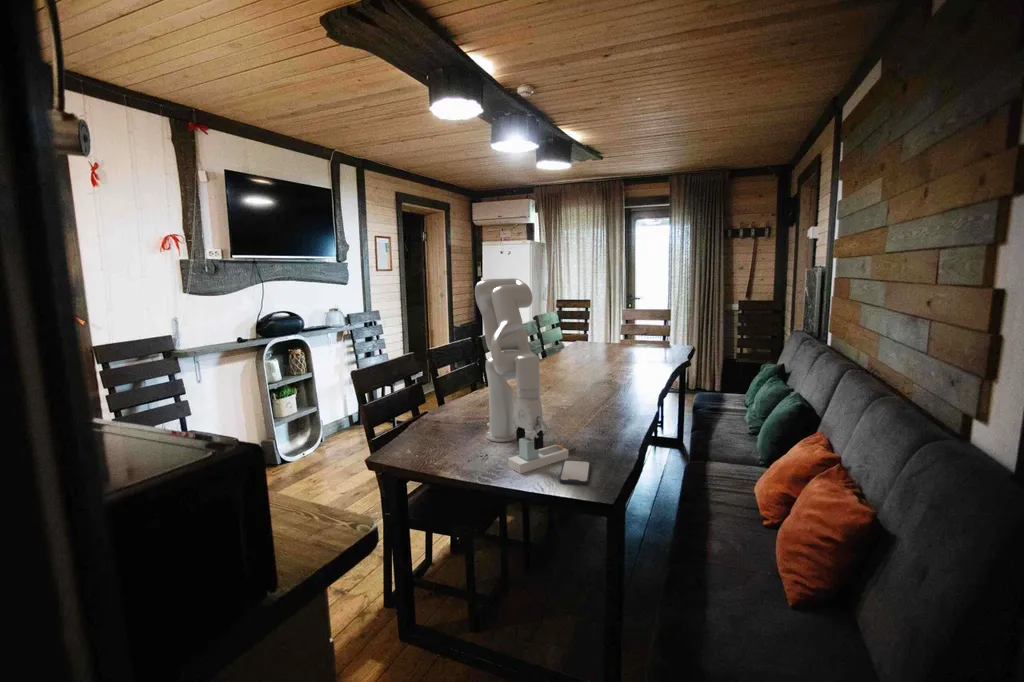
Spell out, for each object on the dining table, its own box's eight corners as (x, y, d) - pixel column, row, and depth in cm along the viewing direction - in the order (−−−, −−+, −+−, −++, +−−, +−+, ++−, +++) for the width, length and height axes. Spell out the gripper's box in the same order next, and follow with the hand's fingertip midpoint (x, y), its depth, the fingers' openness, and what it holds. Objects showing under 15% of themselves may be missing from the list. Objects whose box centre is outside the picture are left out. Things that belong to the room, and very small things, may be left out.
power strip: (508, 466, 162) (508, 456, 162) (569, 448, 177) (569, 438, 176) (519, 473, 157) (519, 462, 156) (581, 454, 171) (581, 444, 171)
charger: (519, 460, 163) (519, 438, 162) (530, 457, 166) (530, 435, 164) (527, 465, 160) (527, 442, 158) (538, 461, 162) (538, 439, 161)
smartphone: (563, 464, 165) (558, 484, 149) (563, 459, 165) (558, 479, 149) (590, 466, 163) (588, 487, 148) (590, 461, 163) (588, 481, 147)
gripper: (503, 390, 164) (505, 440, 166) (535, 400, 149) (536, 454, 152) (522, 386, 168) (523, 435, 170) (554, 396, 154) (555, 449, 156)
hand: (529, 444), depth 161 cm, fingers open, 9 cm apart
